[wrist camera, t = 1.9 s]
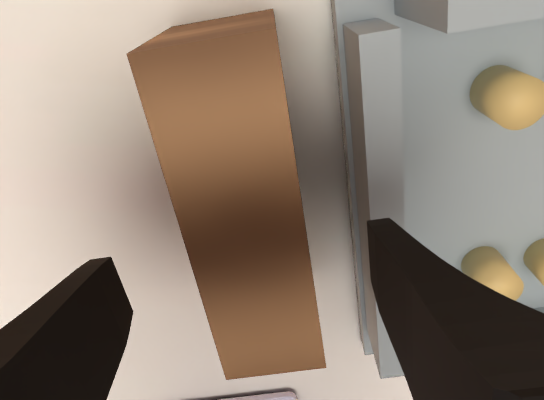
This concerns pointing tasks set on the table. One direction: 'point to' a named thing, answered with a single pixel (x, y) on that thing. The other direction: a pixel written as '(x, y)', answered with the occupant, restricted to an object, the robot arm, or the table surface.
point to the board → (235, 187)
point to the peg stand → (445, 140)
